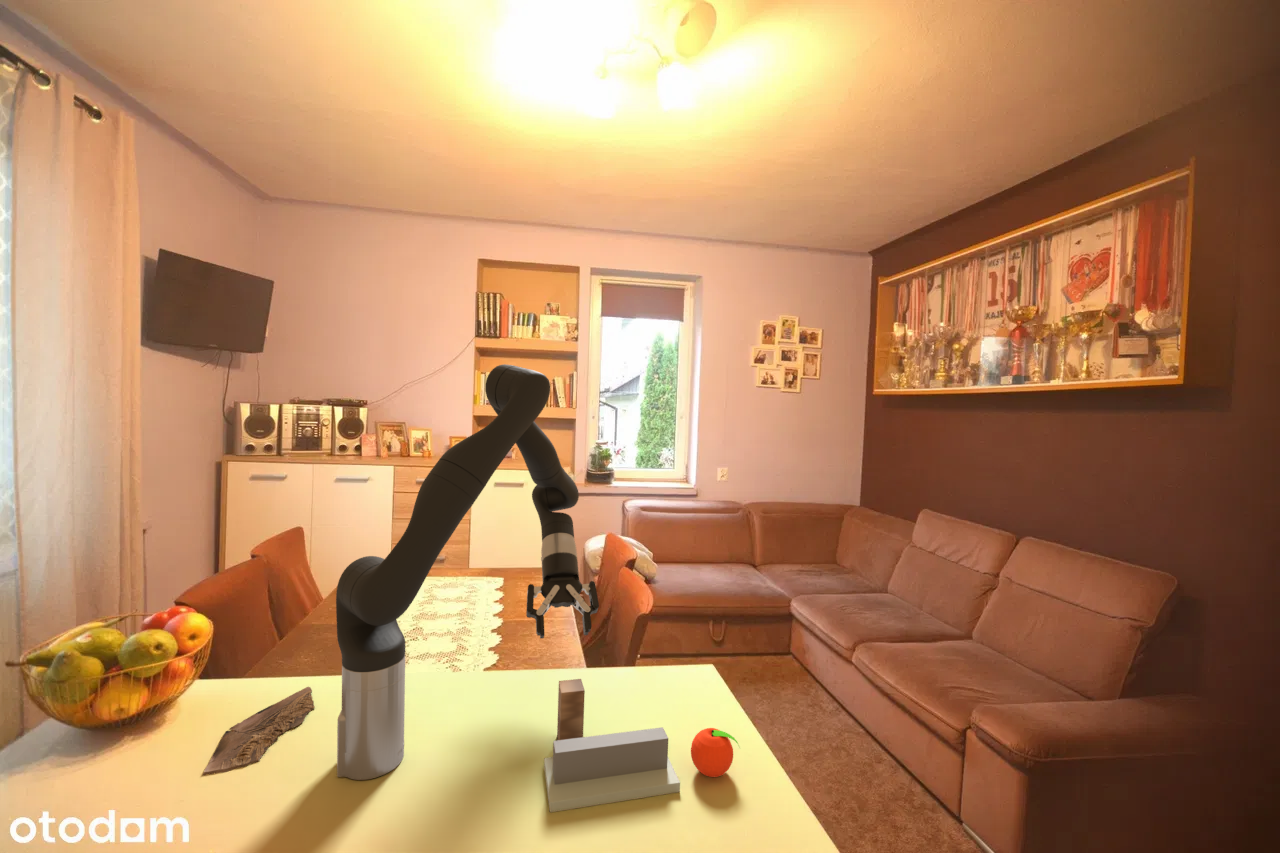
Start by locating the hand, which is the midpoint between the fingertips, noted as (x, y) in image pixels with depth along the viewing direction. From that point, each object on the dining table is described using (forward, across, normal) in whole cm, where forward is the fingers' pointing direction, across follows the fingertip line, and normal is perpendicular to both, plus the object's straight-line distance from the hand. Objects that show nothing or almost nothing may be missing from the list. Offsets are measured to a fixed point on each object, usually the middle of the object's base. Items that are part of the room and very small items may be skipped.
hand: (564, 635), depth 106 cm
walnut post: (+18, 0, +3) cm, 18 cm away
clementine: (+27, +22, -6) cm, 35 cm away
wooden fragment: (+7, -52, +14) cm, 54 cm away
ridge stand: (+25, +5, -5) cm, 26 cm away
